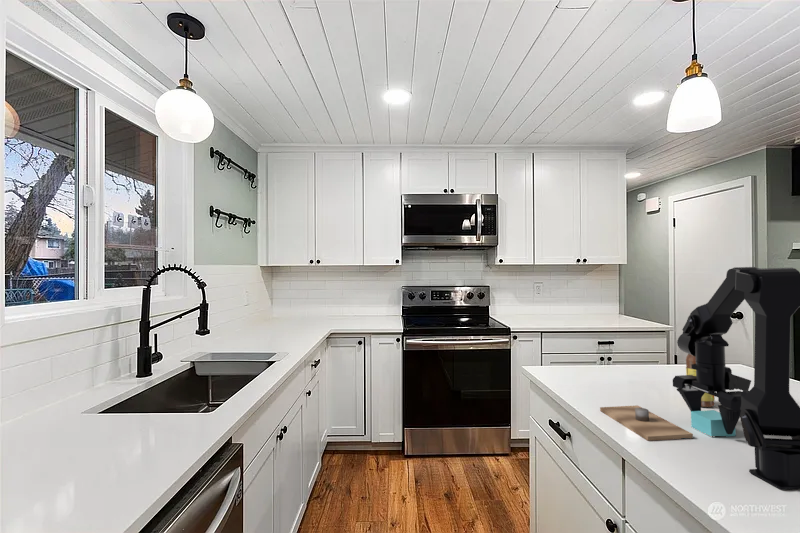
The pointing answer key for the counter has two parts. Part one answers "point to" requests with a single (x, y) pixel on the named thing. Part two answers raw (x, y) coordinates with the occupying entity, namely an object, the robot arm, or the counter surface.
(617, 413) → the post base
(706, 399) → the sauce bottle
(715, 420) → the teal block
